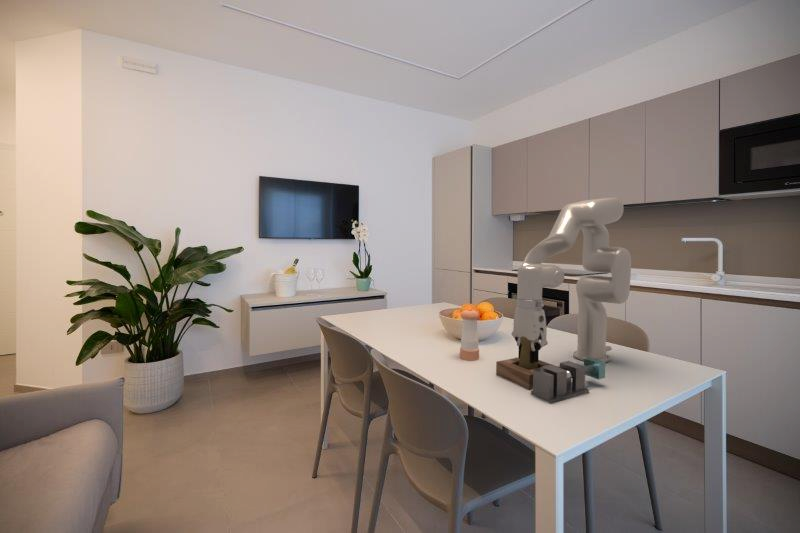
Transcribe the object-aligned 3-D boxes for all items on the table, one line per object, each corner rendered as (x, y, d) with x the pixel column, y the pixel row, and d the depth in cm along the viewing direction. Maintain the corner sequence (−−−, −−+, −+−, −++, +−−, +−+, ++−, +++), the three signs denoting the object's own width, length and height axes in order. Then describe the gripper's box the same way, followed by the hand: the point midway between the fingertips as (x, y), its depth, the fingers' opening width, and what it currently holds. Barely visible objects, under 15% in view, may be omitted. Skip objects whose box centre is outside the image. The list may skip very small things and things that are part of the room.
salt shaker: (483, 358, 136) (483, 308, 135) (469, 361, 132) (470, 310, 131) (469, 353, 142) (469, 306, 141) (455, 356, 138) (456, 307, 137)
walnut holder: (526, 368, 125) (526, 355, 125) (560, 381, 113) (561, 367, 112) (496, 374, 119) (496, 361, 118) (529, 389, 106) (529, 375, 106)
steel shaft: (589, 372, 114) (590, 357, 113) (605, 377, 109) (605, 361, 109) (553, 382, 106) (553, 365, 106) (567, 388, 101) (568, 370, 101)
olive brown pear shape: (539, 372, 112) (540, 337, 111) (519, 370, 113) (520, 336, 113) (536, 365, 118) (536, 333, 117) (517, 364, 119) (517, 332, 118)
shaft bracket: (567, 384, 111) (568, 359, 110) (588, 392, 104) (589, 366, 104) (530, 394, 103) (531, 367, 103) (551, 403, 97) (551, 375, 96)
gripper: (559, 307, 109) (558, 366, 110) (518, 299, 124) (517, 352, 125) (542, 309, 105) (541, 370, 106) (501, 301, 120) (501, 355, 121)
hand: (528, 359), depth 115 cm, fingers closed on olive brown pear shape, 4 cm apart
